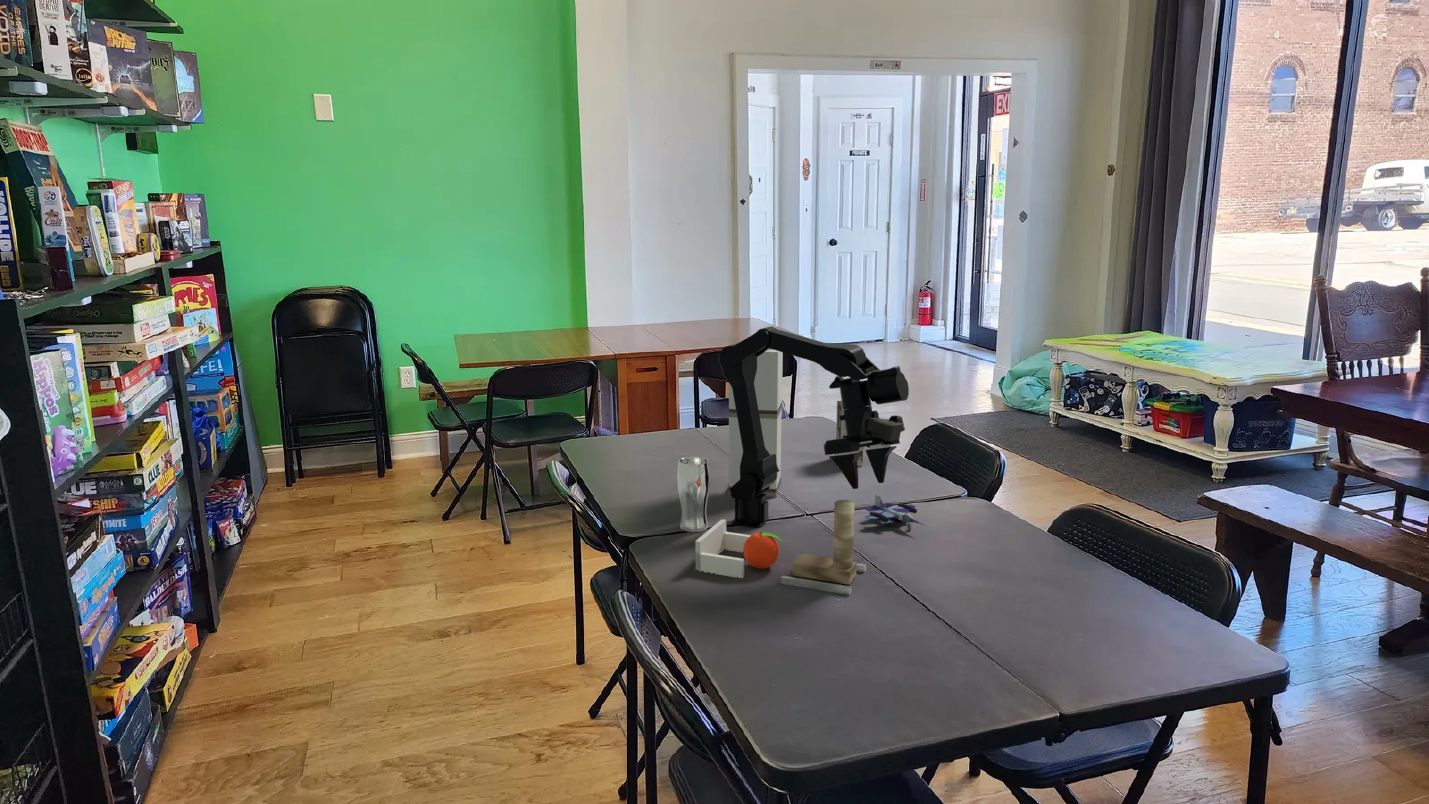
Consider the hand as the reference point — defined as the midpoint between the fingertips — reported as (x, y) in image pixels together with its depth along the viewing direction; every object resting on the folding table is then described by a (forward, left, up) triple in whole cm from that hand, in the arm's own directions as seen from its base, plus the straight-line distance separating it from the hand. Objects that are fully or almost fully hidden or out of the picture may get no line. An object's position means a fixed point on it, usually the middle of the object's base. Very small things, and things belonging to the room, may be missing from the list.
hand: (868, 485), depth 182 cm
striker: (-4, -16, -13) cm, 21 cm away
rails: (-4, -16, -14) cm, 22 cm away
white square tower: (-35, +29, -14) cm, 47 cm away
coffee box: (-20, +61, -14) cm, 65 cm away
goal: (-22, -16, -14) cm, 31 cm away
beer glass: (-38, -1, -14) cm, 40 cm away
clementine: (-16, -16, -14) cm, 27 cm away
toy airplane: (+2, +17, -14) cm, 22 cm away
